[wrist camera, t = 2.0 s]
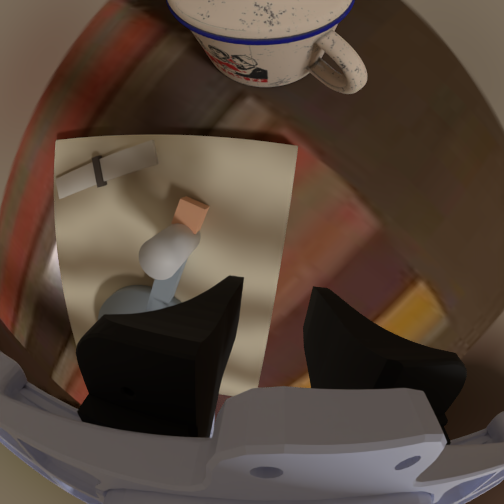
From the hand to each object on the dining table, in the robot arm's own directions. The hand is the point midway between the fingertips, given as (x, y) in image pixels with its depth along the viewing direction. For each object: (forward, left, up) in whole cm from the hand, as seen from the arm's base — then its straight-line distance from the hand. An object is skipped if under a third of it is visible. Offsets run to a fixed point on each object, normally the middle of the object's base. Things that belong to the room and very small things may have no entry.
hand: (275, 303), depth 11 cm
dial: (-6, +8, -8) cm, 13 cm away
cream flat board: (-4, +9, -9) cm, 14 cm away
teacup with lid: (+14, +1, -10) cm, 17 cm away
